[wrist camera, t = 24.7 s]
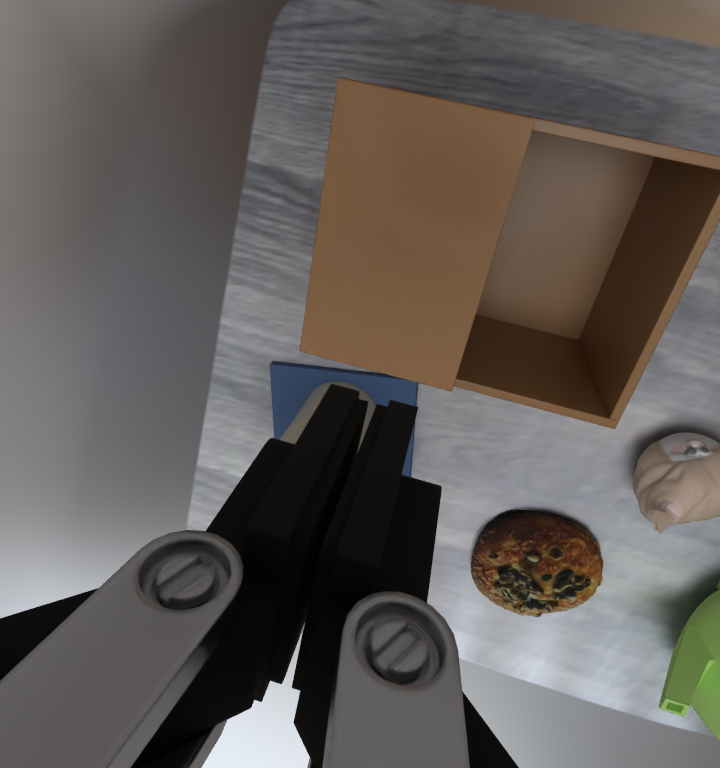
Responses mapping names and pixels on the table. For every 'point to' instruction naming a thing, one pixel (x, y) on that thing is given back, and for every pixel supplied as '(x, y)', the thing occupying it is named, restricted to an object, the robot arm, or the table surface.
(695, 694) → the teapot
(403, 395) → the mat
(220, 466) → the table surface
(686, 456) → the garlic bulb
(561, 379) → the carton
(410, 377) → the flap
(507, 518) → the bread roll
